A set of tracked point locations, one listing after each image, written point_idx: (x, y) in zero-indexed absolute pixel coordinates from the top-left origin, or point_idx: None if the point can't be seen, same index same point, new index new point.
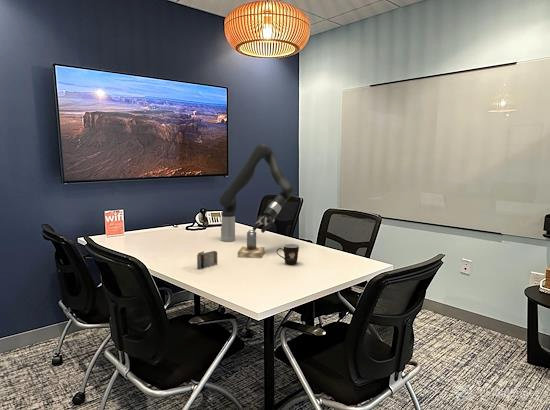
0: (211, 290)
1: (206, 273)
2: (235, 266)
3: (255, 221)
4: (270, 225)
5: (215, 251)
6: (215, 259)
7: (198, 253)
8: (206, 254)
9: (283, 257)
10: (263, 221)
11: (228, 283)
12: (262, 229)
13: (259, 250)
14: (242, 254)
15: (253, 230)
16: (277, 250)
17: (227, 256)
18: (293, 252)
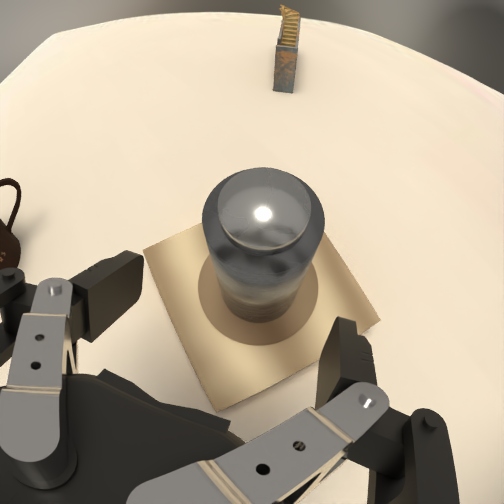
0: (151, 19)
1: (233, 43)
2: (195, 105)
3: (421, 427)
4: (2, 338)
5: (286, 46)
6: (284, 74)
7: (295, 12)
8: (281, 25)
9: (8, 222)
10: (131, 398)
11: (136, 41)
12: (115, 258)
13: (189, 297)
14: None
15: (259, 234)
16: (10, 181)
17: (343, 187)
18: None
